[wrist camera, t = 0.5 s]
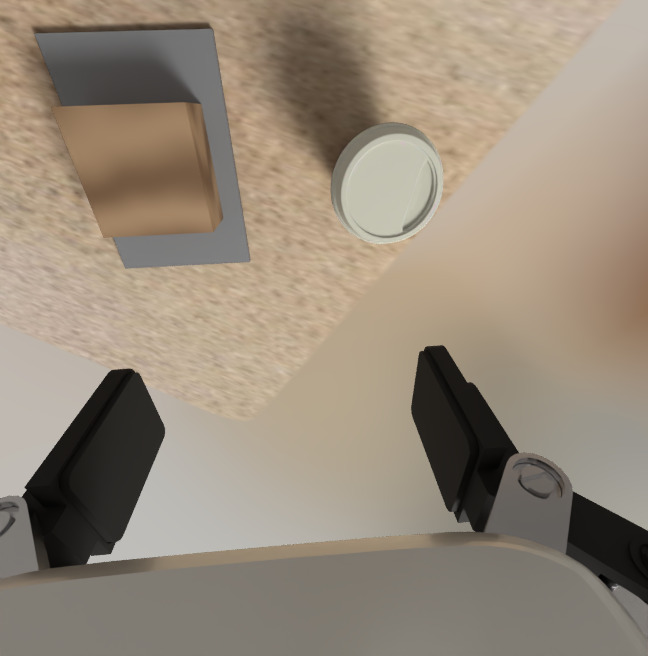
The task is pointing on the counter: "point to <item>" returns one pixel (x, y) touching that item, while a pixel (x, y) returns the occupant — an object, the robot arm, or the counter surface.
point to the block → (144, 167)
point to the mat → (157, 87)
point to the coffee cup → (387, 183)
